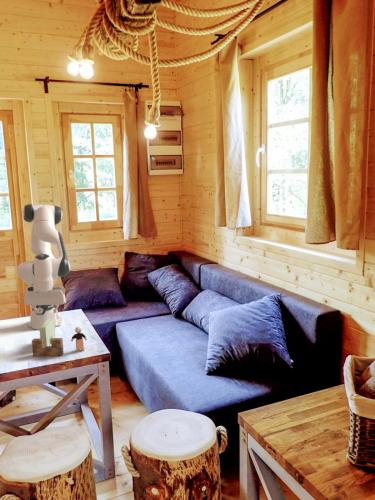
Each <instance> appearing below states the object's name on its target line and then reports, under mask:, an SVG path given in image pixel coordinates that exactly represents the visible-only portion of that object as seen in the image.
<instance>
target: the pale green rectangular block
mask: <svg viewBox="0 0 375 500" xmlns="http://www.w3.org/2000/svg"><path fill="white" fill-rule="evenodd" d="M55 328H56V327H54V319H48V320H47V321H46V322H45V323H44V324H43V325H42V326H41V327H40V330H39V338H44V346H51V340H52V338H56V332H55Z"/></svg>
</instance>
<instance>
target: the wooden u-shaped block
mask: <svg viewBox="0 0 375 500" xmlns="http://www.w3.org/2000/svg"><path fill="white" fill-rule="evenodd" d="M31 348H32V357H61V356H63V355H64V354H65V353H64V340H63V337H55V338H52V340H51V344H50V346H44V338H40V337H39V338H37V337H36V338H33V339H32V340H31Z"/></svg>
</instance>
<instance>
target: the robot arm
mask: <svg viewBox="0 0 375 500" xmlns="http://www.w3.org/2000/svg"><path fill="white" fill-rule="evenodd" d="M21 214H22V218H23V220H24V221H25V222H27V223H32V227H31V235H30V251H31V252H32V254H34V255H35V256H34V260H33V261H32V260H31V261H25V262H20V263H19V264H18V266H17V268H16V273H17V274H16V275H17V276H18V278H19V279H20V280H22V281H23V282H24V283H25V284H26V285H27V286H26V287H25V293H24V301H23V302H24V305H25V306H31V309H32V311H31V312H30V319H29V321H30V322H29V324H28V325H27V326H28V327H29V328H31V329H33V330H37V331H38V330H39V331H40V327H41V326H42V325H43V324H44V323H45V322H46V321H47V320H48V319H54V328H56V327H59V326H61V324H62V322H63V316H59V310H58V308H59V307H60V305H64V304H65V303H67V302H66V301H67V300H66V289H65V287H63V286H62V285H58V286H56V285H54V280H55V279H59V278H64V277H67V276H68V275H69V274H70V272H71V264H70V262H69V259H68V256H67V252H66V251H67V250H66V247H65V243H64V240H63V235H62V233H61V232H59V231H57V229H56V227H55V225H56V226H57V225H58V224H59V223H61V221H62V219H63V210H62V208H61V206H57V205H51V204H41V203H40V204H36V203H35V204H32V203H28V204H25V205H24V206H23V209H22V212H21ZM52 245H54V246H55V247H56V248H57V253H58V258H57V257H55V256H54V253H53V251H52Z"/></svg>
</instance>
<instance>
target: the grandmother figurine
mask: <svg viewBox="0 0 375 500" xmlns="http://www.w3.org/2000/svg"><path fill="white" fill-rule="evenodd" d="M74 332H75V334H73V335H72V337H71V340H70V341H71V342H74V340H75V349H76V350H75V351H76V352H77V353H79V352H84V351H86V348H85V343H84V340H85V341H88V338H87V336H86V335H85V334H84V333H82V327H81V326H80V325H77V326H76V327H75V328H74Z"/></svg>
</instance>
